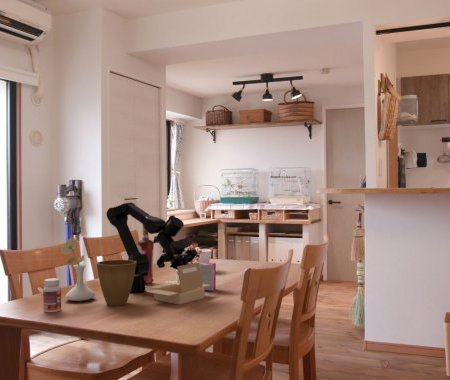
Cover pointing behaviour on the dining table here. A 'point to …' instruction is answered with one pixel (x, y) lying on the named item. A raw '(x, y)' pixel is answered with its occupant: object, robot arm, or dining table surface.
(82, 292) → the flower in vase
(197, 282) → the flap
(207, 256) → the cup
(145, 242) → the liquor
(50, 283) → the pill bottle
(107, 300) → the plant pot
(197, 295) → the carton
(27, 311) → the dining table surface
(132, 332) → the dining table surface
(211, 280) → the supplement box
